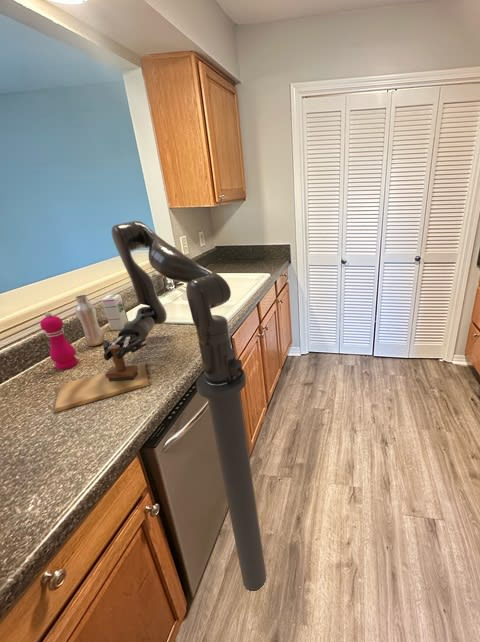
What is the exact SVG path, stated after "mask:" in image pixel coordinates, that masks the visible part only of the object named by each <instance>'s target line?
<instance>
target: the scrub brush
mask: <svg viewBox="0 0 480 642" xmlns="http://www.w3.org/2000/svg"><path fill="white" fill-rule="evenodd" d="M119 349H120V345H113V346H111V347H110V352H111V355H112V357H111V358H112V362H113V365H114V366H111V367H110V368H109V369H108V370H107V371H106V372H107V373H106V372H105V373H106V374H105V375H106V378H108V379H109V382H111V381H124V380H134V378H135V377H136V376H137V374H138V372H137V370H138V366H137V365H136V364H132V365H133V366H132V365H126V362H125V358H124V357H122V358H121V359H117V357H116V353H117V351H118V350H119Z"/></svg>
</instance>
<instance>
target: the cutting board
mask: <svg viewBox="0 0 480 642" xmlns="http://www.w3.org/2000/svg"><path fill="white" fill-rule="evenodd" d="M133 365H134V364H132V365H131V366H133ZM135 365H137V366H138V370H137V372H138V374H137V376H136V377H135V378H134V380H124V381H111V382H109V379H108V378H106V375H105V374H106V373H107V371H106V372H101V373H98V374H94V375H91V376H87V377H83V378H80V379H75V380H72V381H68V382H64V383H61V384H60V385H59V388H58V393H57V397H56V402H55V406H54V412H55V413H58V412H62V411H65V410H67V409H68V410H69V409H72V408H75V407H79V406H82V405H85V404H86V405H87V404H90V403H92V402H96V401H100V400H103V399H107V398H110V397H113V396H116V395H119V394H123V393H127V392H130V391H133V390H137V389H140V388H144V387H147V386H150V383H149V378H148V374H147V369H146V364H145V362H141V363H138V364H135Z"/></svg>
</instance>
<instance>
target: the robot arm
mask: <svg viewBox="0 0 480 642" xmlns="http://www.w3.org/2000/svg"><path fill="white" fill-rule="evenodd" d="M111 237H112V240H113V243H114V245H115V248H116V250H117V252H118V255H119V257H120V259H121V261H122V263H123V265H124V268H125V270H126V272H127V274H128V276H129V279H130V281H131V285H132V287H133V290H134V293H135V298H136V301H137V303H138V304H140V305H142V306H141V307H140V308H138V309H137V311H136V315H135V318H133V319H132V320H131V321H129V323H128V324H127V325H126V326H125V327H124V328H123V329H121V330H120V331H119V332H118V334H117V337H115V338H114V339H113V340H112V341H108V340H107V339H104V341H103V343H102V348H103V351H104V352H103V358H104V360H105V361H110V360H111V358H112V355H111V352H110V347H111V346H113V345H120V349H119V350H118V351H117V353H116V357H117V359H121V358H122V357H123V358H124V357H125V356H126V355H127V354H129V353H130V352H131V353H133V354H134V353H135V352H137V351H139V350H141V349H143V348H144V347H146V346H148V344H147V340H146V339H147V338H148V336H149V335H150V333H151V331H152V330H153V329H154V328H155V325H163V324H165V322H166V320H167V315H168V314H167V310H166V309H165V307H164V305H163V304H162V301H161V300H160V298H159V297H158V293H157V291H156V287H155V283H154V281H153V278H152V276H150V275H149V274H148V273H147V271H146V270H144V269H143V268H142V267H141V266H140V265H139V264H138V263H137V262H136V261H135V259H134V257H133V254H132V252H133V251H136V250H137V251H138V250H140V249H148V254H147V255H148V261H149V264H150V267H152V268H153V269H154V270H155V271H156V272H157V273H159V274H160V275H162V276H163V277H165V278H166V279H168V280H172V281H175V282H179V283H185V284H186V287H185V292H186V293H185V295H186V298H187V303H188V306H189V310H190V314H191V319H192V321H193V324H194V327H195V330H196V335H197V341H198V346H199V352H200V356H201V361H202V366H203V373H204V372H205V377H206V383H207V384H208V385H210V386H224V385H227V384H232V382H233V381H234V379H235V378H236V376H237V375H238V374H239V372H240V373H241V374H240V375H239V377H238V379H240V378H241V377H242V376H243V371H244V369H243V364H242V359H236V352H235V348H234V347H233V348H232V343H231V336H230V328H229V323H228V319H227V318H226V317H225V316H223V315H220V314H219V315H218V314H212V310H211V309H214V308H217V307H219V306H222V305H224V304H226V303H227V302H229V300H230V298H231V295H232V291H231V287H230V285H229V284H228V282H227V280H225V278H224V277H222V276H221V275H220V274H218V273H217V272H214V271H213V270H212V269H211V270H210V269H209V268H206V267H205V266H202V265H201V264H199V263H198V262H196V261H195V260H193V259H191V258H190V257H188V256H187V255H186V254H184V253H183V252H181V250H179V249H177V248H176V247H174V246H173V245H171V244H170V243H168V242H167V241H165V240H164V239H162V237H160V236H159V235H158V234H156V233H155V232H154V231H153V229H151V228H150V227H149V226H148V225H146V224H145V223H143V222H142V221H140V220H132V221H128V222H123V223H118V224H115V225H113V226H112V227H111ZM143 305H144V306H143Z"/></svg>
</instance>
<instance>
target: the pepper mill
mask: <svg viewBox="0 0 480 642" xmlns="http://www.w3.org/2000/svg"><path fill="white" fill-rule="evenodd" d="M63 325H64V322H63V320H62V318H61V317H60V316H57V315H52V312H50V311H48V312H47V311H46V313H44V318H42V319H41V320H40V323H39V326H40V328H41V330H42V331H43V332H44V333H45V335H46V337H47V338H48V339H49V342H50V349H49V350H50V351H49V357H50V360H51V361H52V362H54V365H55V368H56V369H57V370H61V371H63V370H67V369H71V368H73V367H75V366H76V365H77V364H78V359H77V357H76V356H75V355H76V353H77V352H76V349H75V347H74V346H73V345H72V344H71V343H70V342H69V341H68V340H67V338H66V337H65V335H64V333H65V330H64V328H63Z"/></svg>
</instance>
